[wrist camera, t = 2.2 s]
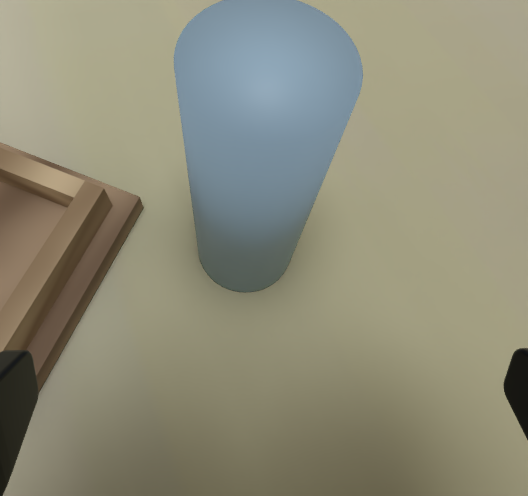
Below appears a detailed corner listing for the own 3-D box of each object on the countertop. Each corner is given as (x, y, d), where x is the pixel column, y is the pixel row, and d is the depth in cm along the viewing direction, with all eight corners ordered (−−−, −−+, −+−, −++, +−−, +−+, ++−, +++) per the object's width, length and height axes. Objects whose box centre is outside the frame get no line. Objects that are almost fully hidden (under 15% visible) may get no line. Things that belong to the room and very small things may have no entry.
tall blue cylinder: (303, 225, 24) (383, 31, 12) (272, 306, 22) (331, 169, 10) (220, 193, 25) (220, -27, 13) (182, 271, 23) (139, 97, 11)
